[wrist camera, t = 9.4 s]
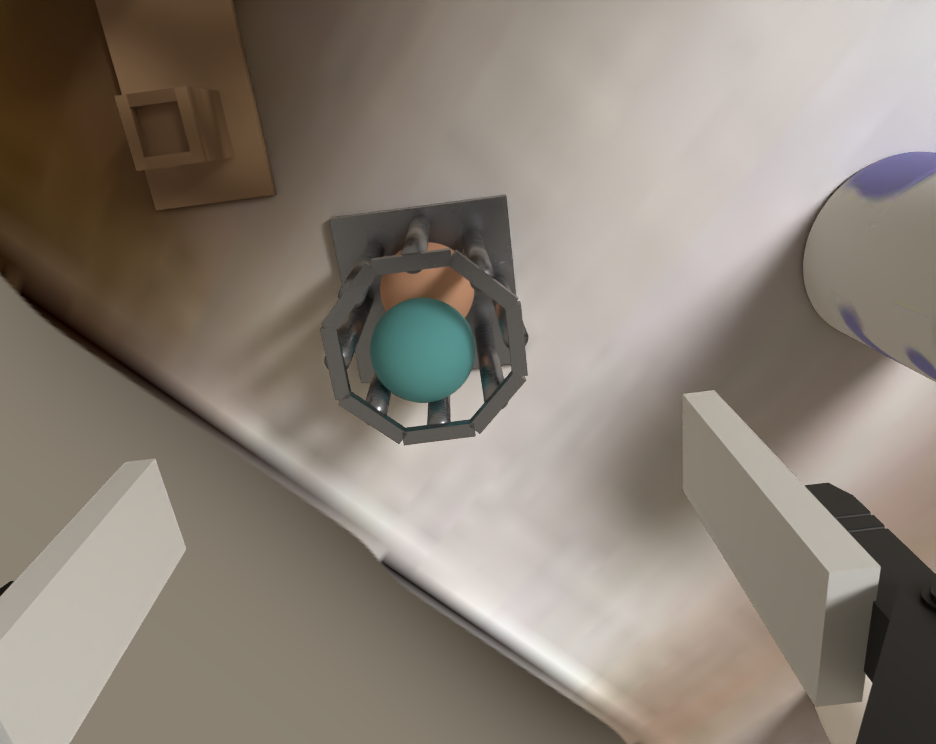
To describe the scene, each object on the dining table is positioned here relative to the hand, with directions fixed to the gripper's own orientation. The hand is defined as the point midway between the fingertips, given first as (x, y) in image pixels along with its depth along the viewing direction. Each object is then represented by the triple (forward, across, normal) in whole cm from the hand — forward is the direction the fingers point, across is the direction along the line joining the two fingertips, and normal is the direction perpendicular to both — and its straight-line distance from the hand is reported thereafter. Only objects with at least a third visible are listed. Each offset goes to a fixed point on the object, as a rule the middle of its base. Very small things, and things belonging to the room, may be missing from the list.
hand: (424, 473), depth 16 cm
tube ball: (+17, 0, 0) cm, 17 cm away
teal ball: (+13, -1, -1) cm, 13 cm away
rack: (+20, -10, +14) cm, 26 cm away
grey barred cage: (+20, 0, 0) cm, 20 cm away
